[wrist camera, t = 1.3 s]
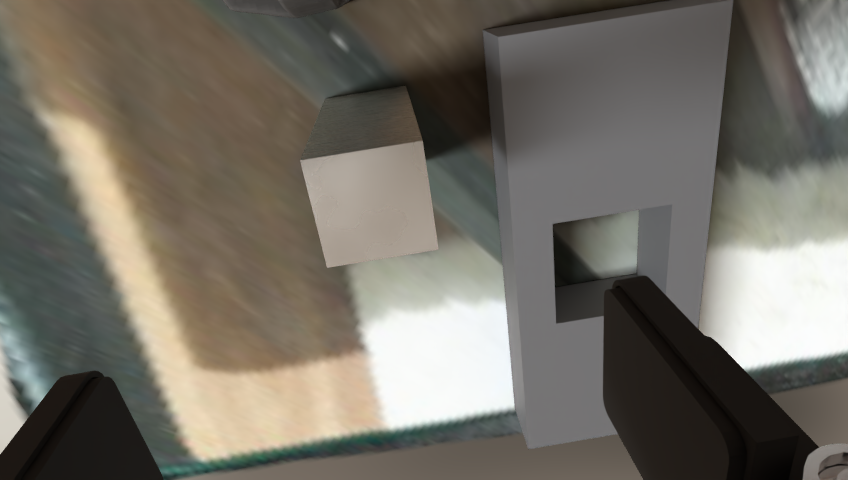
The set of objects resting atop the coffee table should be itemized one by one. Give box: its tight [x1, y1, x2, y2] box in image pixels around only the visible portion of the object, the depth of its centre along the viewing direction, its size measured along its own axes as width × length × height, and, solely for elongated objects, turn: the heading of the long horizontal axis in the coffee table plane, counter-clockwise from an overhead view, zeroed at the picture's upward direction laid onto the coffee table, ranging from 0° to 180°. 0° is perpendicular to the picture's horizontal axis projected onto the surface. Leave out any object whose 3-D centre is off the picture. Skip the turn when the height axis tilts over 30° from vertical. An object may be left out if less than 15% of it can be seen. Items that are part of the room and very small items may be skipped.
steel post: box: [300, 86, 438, 268], centre depth 23 cm, size 4×4×10 cm
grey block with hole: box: [483, 0, 733, 449], centre depth 29 cm, size 10×24×4 cm, turn 8°
